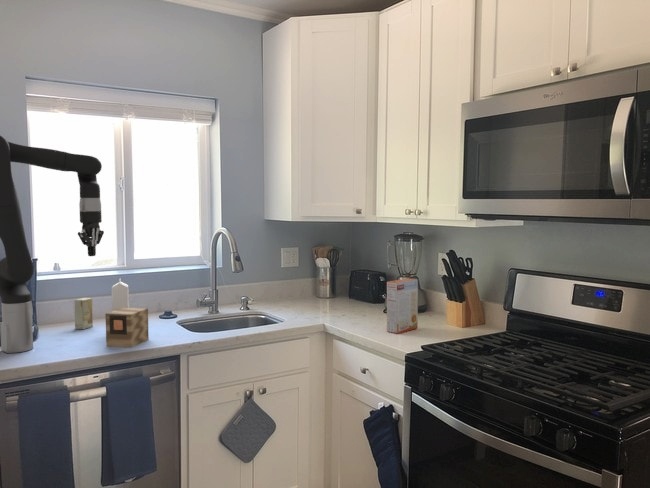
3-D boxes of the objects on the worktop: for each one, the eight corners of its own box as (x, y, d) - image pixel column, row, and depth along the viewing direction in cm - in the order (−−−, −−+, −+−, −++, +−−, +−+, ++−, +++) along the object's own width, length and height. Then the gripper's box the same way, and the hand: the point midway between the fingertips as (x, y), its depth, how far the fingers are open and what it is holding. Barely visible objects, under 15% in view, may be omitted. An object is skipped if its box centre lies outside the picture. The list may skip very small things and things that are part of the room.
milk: (112, 335, 214) (110, 279, 212) (114, 331, 220) (112, 277, 218) (129, 334, 216) (127, 279, 214) (130, 330, 221) (128, 277, 220)
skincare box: (83, 329, 223) (82, 300, 222) (74, 329, 224) (73, 299, 223) (93, 326, 229) (92, 297, 228) (84, 325, 230) (83, 297, 229)
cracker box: (406, 326, 230) (407, 277, 229) (418, 328, 226) (418, 279, 224) (385, 331, 220) (386, 280, 219) (397, 334, 216) (398, 282, 215)
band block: (131, 347, 195) (130, 314, 194) (106, 346, 197) (105, 313, 196) (148, 339, 207) (147, 308, 206) (124, 338, 209) (124, 307, 208)
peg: (122, 330, 195) (122, 320, 195) (113, 329, 196) (113, 319, 196) (140, 323, 207) (140, 313, 207) (132, 322, 208) (131, 313, 208)
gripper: (92, 210, 211) (93, 254, 212) (70, 210, 198) (71, 257, 199) (109, 210, 209) (111, 254, 211) (88, 210, 196) (89, 258, 198)
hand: (91, 256), depth 205 cm, fingers closed
